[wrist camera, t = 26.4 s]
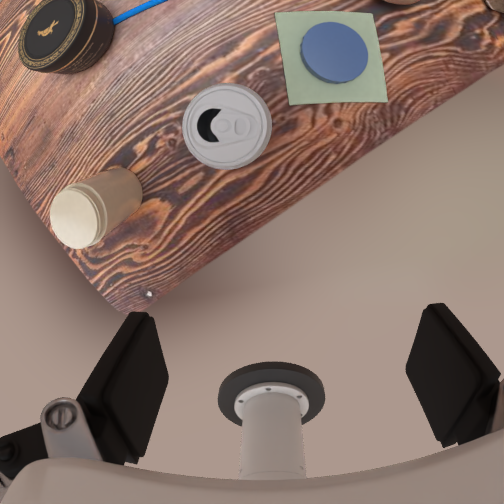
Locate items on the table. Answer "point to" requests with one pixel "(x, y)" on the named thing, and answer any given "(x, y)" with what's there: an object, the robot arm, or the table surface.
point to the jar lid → (333, 52)
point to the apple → (402, 1)
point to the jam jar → (95, 206)
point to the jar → (65, 36)
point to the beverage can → (227, 126)
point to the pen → (136, 10)
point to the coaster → (317, 91)
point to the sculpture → (495, 5)
